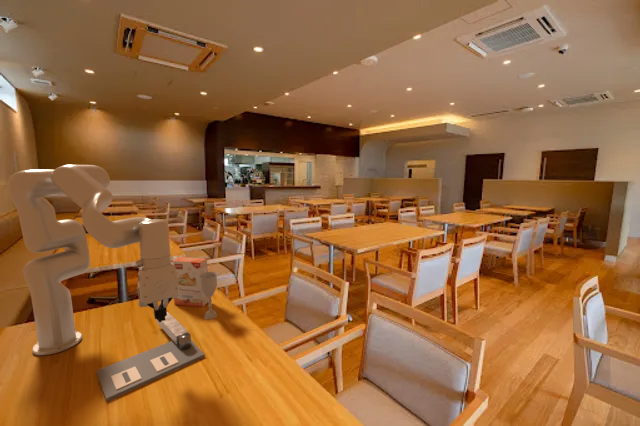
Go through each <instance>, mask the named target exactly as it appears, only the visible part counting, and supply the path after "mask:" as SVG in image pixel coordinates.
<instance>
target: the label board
mask: <svg viewBox="0 0 640 426" xmlns="http://www.w3.org/2000/svg"><path fill="white" fill-rule="evenodd" d="M203 358H206V357H205V353H204V352H203V350H201V348H200V347H198V345H197V344H195V342H194V341H193V340H192V339H191V347H190V348H188V349H186V350H181V349H180V347H179V344H176V343H175V342H174V341H173V340H172V341H168V342H166V343H163V344H159V345H158V346H156V347H153V348H151V349H148V350H146V351H143V352H142V351H141V352H140V353H138V354H134V355H132V356H130V357H127V358H124V359H121V360H119V361H117V362H115V363H111V364H109V365H106V366H104V367H101V368H99V369H96V375H97V378H98V381H99V383H100V387H101V389H102V393H103V395H104V399H105V402H106V403H107V402H108V403H109V401H112V400H114V399H116V398H118V397H120V396H123V395H125V394H127V393H129V392H131V391H133V390H136V389H138V388H141V387H142V386H144V385H147V384H149V383H151V382H153V381H155V380H157V379H160V378H161V377H164V376H166V375H168V374H170V373H173V372H175V371H177V370H179V369H181V368H184V367H186V366H188V365H190V364H193V363H194V362H196V361H199V360H200V359H203Z"/></svg>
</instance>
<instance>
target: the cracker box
mask: <svg viewBox="0 0 640 426" xmlns="http://www.w3.org/2000/svg"><path fill="white" fill-rule="evenodd" d="M171 262H172V263H174V265H175V268H176V273H177V278H178V284H179V293H178V294H179V296H178V297H176V298H174V299H173V302H174V305H175V306H176V305H177V306H188V307H199V308H203V307H205V306H206V305H207V304H209V302H208V300H209V298H208V297H206V295H205V294H204V292H203V290H202V288H201V278H200V275H201V274H203V273H206V272H209V271H208V259H207V258H197V257H183V256H179V257H176V258H174V259H171Z"/></svg>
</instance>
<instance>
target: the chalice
mask: <svg viewBox="0 0 640 426" xmlns="http://www.w3.org/2000/svg"><path fill="white" fill-rule="evenodd" d="M217 277H218V271H217V272H216V271H208V272H206V273H203V274H201V275H200V278H201V288H202V290H203V292H204V294H205V295H206V297H208V298H209V300H208V305H207V307H208V310H207V311H206V312H205V314H204V319H205V320H214V319H215V318H217V317H218V314H217V312H216V310H215V309H213V308H212V306H213V303H212V297H213V296H214V294H215V292H216V290H217V286H218V280H217V279H218V278H217Z"/></svg>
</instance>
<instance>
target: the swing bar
mask: <svg viewBox="0 0 640 426" xmlns="http://www.w3.org/2000/svg"><path fill="white" fill-rule="evenodd" d="M156 323H157V325H158V326H159V327H160V328H161V329H162V330H163V331H164V332H165V334H166V335H167V336H169V338H170V339H171V340H172V341H174V342H175V343H176V344H179V347H180V349H181V350H186V349H188V348H190V347H191V340H192V337H191V335H192V334H191V333H190V332H189V330H187V328H185V326H183V324H181V322H180V321H178V320H177V319H176V318H175V317H174V316H173V315H172V314H171V313H170V312H168V311H167V316H165V321H162V322H159V321H158V320H157V319H156Z"/></svg>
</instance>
